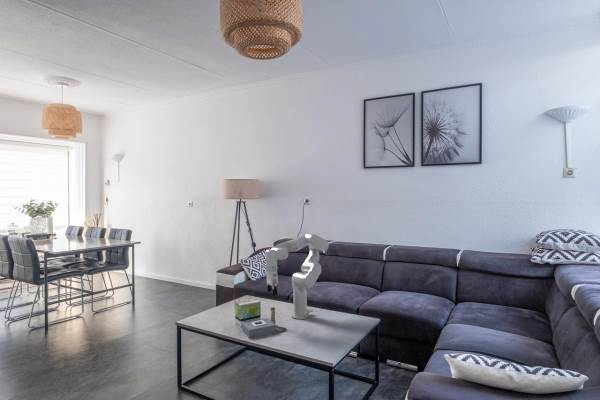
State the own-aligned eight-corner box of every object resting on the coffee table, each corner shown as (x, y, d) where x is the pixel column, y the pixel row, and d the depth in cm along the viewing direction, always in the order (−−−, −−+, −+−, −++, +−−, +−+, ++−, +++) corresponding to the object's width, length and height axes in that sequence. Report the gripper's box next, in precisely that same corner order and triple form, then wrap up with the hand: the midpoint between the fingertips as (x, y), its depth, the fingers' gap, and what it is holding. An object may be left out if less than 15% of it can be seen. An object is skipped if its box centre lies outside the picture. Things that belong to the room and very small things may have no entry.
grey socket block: (267, 325, 241) (267, 317, 241) (275, 332, 229) (275, 323, 229) (242, 330, 233) (241, 322, 233) (248, 338, 221) (248, 329, 221)
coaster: (283, 327, 238) (283, 326, 238) (288, 331, 230) (288, 330, 230) (272, 329, 234) (272, 328, 234) (277, 333, 227) (277, 332, 227)
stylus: (274, 324, 243) (273, 306, 243) (276, 325, 240) (275, 308, 240) (270, 325, 241) (269, 307, 241) (271, 326, 239) (271, 308, 239)
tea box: (241, 327, 239) (240, 305, 239) (235, 323, 248) (234, 301, 247) (261, 322, 248) (260, 301, 247) (254, 318, 256) (254, 297, 256)
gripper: (281, 269, 234) (282, 295, 234) (272, 265, 249) (272, 289, 250) (271, 270, 231) (271, 297, 231) (261, 266, 246) (262, 291, 246)
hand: (272, 293), depth 240 cm, fingers open, 9 cm apart
